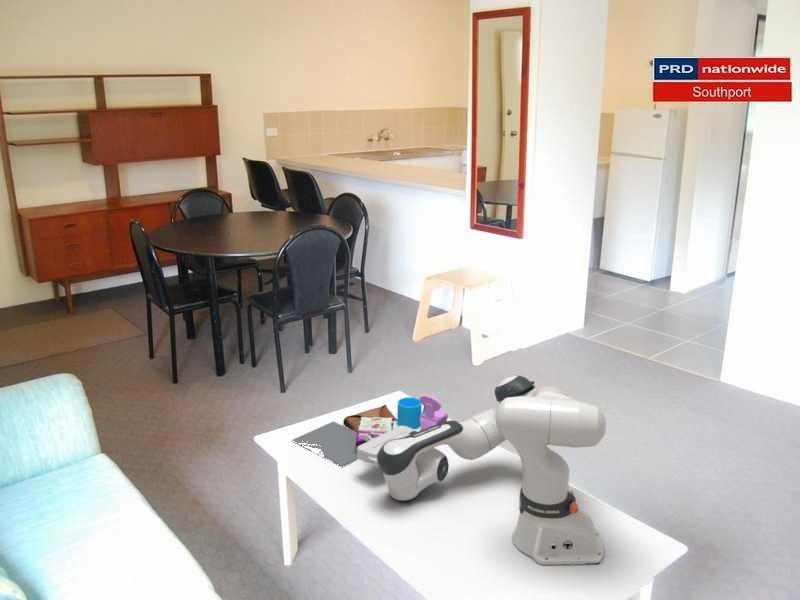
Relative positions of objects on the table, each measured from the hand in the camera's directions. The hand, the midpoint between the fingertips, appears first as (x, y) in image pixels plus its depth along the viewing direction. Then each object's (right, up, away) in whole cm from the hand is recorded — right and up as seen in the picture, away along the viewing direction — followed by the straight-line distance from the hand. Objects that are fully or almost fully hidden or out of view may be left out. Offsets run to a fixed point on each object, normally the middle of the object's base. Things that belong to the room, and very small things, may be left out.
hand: (367, 435), depth 214 cm
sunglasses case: (0, -1, +27) cm, 27 cm away
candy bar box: (+1, -5, +3) cm, 6 cm away
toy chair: (+21, -3, +18) cm, 28 cm away
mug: (+14, -1, +27) cm, 30 cm away
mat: (-10, -5, +12) cm, 16 cm away
